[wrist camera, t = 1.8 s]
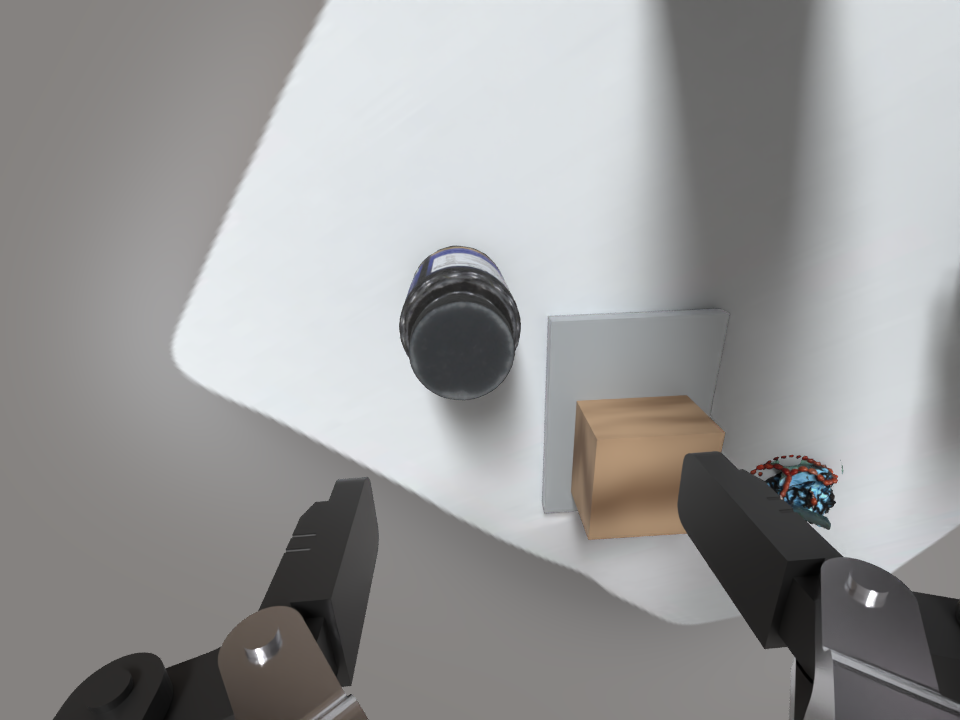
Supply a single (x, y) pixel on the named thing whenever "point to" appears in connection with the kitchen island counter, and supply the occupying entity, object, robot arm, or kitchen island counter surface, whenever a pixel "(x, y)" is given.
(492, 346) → the pill bottle
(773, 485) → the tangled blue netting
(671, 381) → the build plate
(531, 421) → the kitchen island counter surface
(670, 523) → the wooden block
